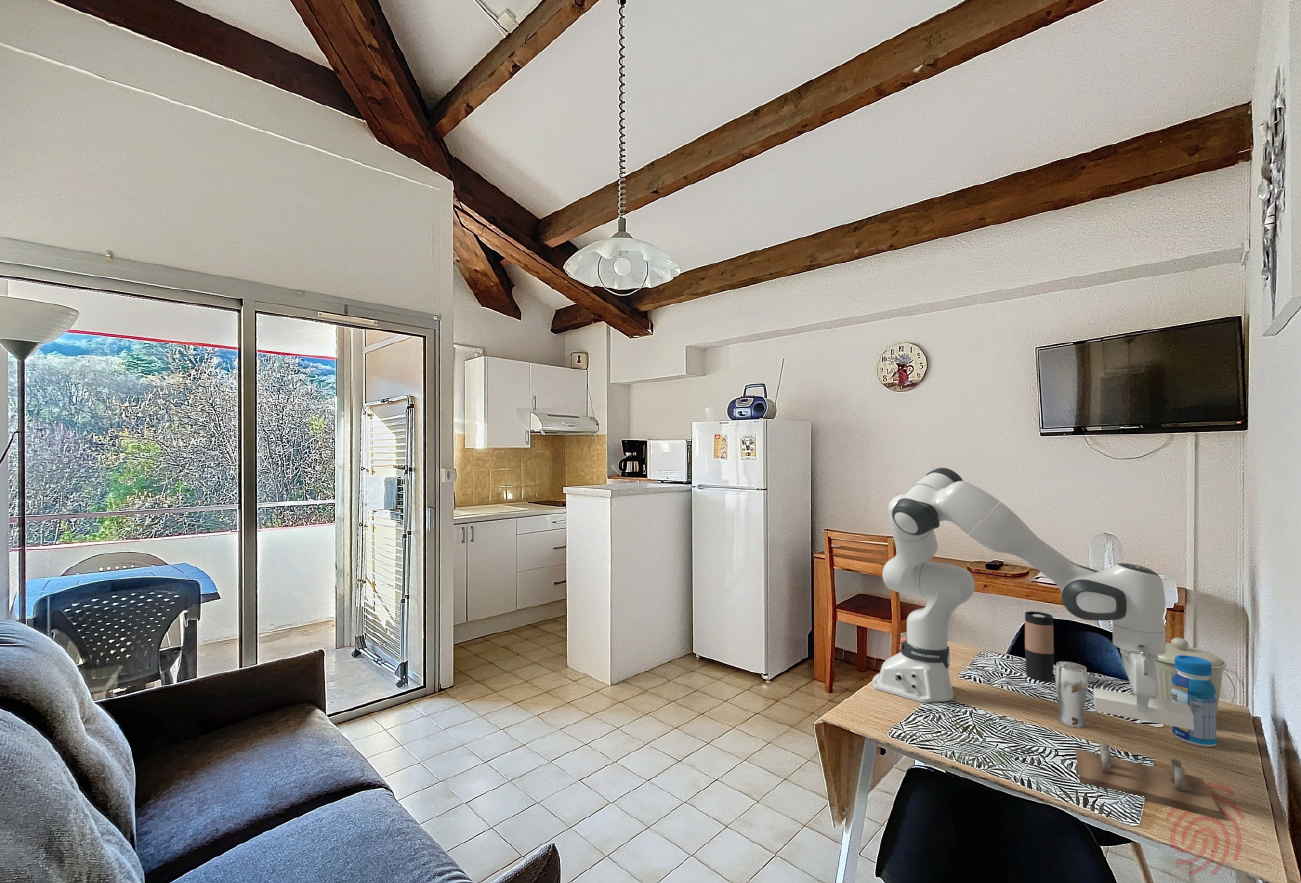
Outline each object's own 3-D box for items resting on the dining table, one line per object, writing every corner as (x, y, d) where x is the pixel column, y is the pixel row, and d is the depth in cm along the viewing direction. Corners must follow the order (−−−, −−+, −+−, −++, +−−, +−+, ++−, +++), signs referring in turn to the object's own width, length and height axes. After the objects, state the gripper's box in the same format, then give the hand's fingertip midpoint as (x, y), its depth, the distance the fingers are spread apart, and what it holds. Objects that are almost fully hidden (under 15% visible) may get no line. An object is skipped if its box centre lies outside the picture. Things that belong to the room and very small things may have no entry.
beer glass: (1093, 730, 149) (1093, 671, 149) (1063, 727, 150) (1063, 669, 151) (1079, 718, 156) (1078, 662, 156) (1050, 715, 157) (1050, 660, 158)
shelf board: (1194, 730, 118) (1193, 715, 118) (1095, 710, 127) (1094, 697, 127) (1188, 718, 123) (1188, 704, 123) (1094, 701, 132) (1093, 687, 132)
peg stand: (1079, 783, 125) (1079, 755, 125) (1076, 755, 137) (1075, 729, 137) (1219, 819, 113) (1219, 788, 113) (1202, 785, 124) (1202, 757, 124)
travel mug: (1019, 673, 188) (1019, 611, 188) (1041, 672, 189) (1040, 610, 189) (1037, 682, 180) (1037, 618, 181) (1060, 681, 181) (1059, 617, 181)
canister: (1244, 726, 151) (1243, 645, 152) (1197, 735, 146) (1196, 652, 147) (1166, 698, 169) (1165, 626, 169) (1121, 706, 164) (1120, 631, 164)
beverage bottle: (1211, 751, 138) (1210, 667, 139) (1166, 737, 146) (1164, 657, 146) (1222, 742, 143) (1221, 661, 143) (1178, 728, 150) (1176, 651, 150)
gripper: (1166, 656, 115) (1167, 727, 115) (1150, 631, 132) (1151, 692, 132) (1125, 650, 118) (1126, 718, 118) (1115, 626, 135) (1115, 685, 135)
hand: (1139, 704), depth 125 cm, fingers closed on shelf board, 6 cm apart
